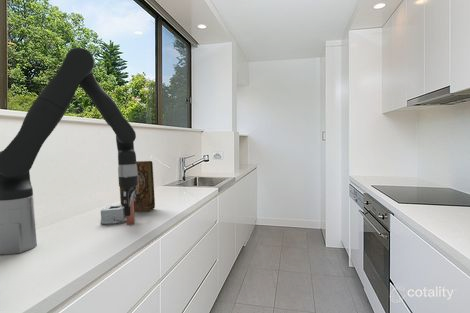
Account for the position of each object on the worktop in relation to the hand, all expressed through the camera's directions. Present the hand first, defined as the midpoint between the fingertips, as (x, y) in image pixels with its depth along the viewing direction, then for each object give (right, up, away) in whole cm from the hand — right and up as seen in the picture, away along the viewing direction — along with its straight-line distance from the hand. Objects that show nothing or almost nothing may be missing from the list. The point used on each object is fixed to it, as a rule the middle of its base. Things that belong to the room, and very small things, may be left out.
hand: (130, 213), depth 109 cm
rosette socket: (-9, -5, +6) cm, 12 cm away
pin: (0, -5, 0) cm, 5 cm away
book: (-5, -4, +23) cm, 24 cm away
